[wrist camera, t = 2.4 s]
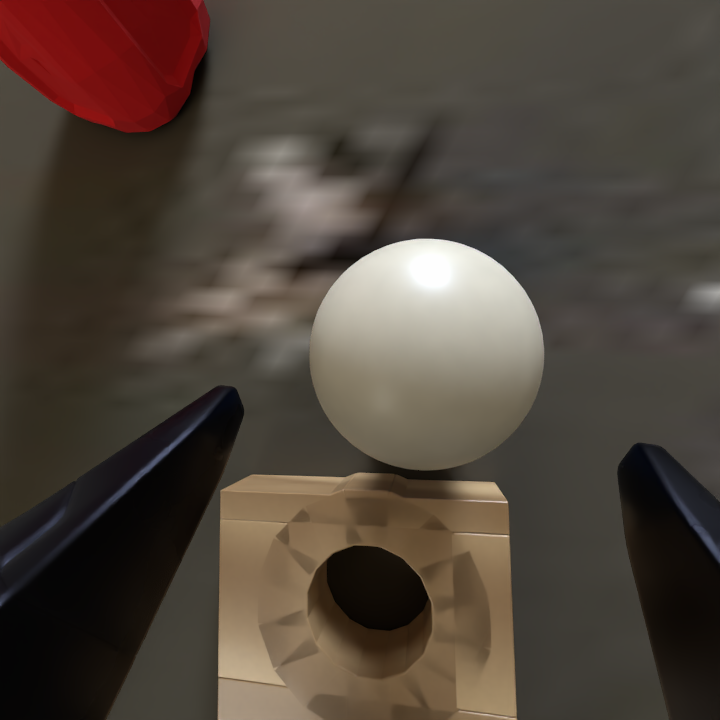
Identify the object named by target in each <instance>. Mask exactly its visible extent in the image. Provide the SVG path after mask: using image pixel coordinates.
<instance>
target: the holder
mask: <svg viewBox="0 0 720 720" xmlns="http://www.w3.org/2000/svg"><path fill="white" fill-rule="evenodd" d="M509 534H510V531H509V507H508V501H507V500H506V498H505V497H504V495H503V494H502V492H501V491H500V490H499V488H498V487H497V485H496V484H495V482H475V481H444V480H412V479H406V478H404V477H401V476H399V475H395V474H385V473H355V474H352V475H350V476H347V477H317V476H285V475H254V474H252V475H250V476H248V477H246V478H244V479H242V480H240V481H238V482H236V483H234V484H232V485H230V486H228V487H226V488H224V489H222V490H221V492H220V566H219V642H218V720H517V717H516V715H517V708H516V683H515V658H514V634H513V609H512V585H511V560H510V537H509ZM354 545H360V546H376V547H381V548H383V549H385V550H387V551H389V552H391V553H393V554H395V555H397V556H399V557H401V558H403V559H404V560H405V561H406V562H407V564H408V565H409V566H410V567H411V568H412V569H413V570H414V571H415V572H416V573H417V574H418V575H419V576H420V578H421V580H422V582H423V585H424V587H425V589H426V592H427V594H428V597H429V598H428V600H427V603H426V605H425V608H424V610H423V611H422V612H421V613H420V614H419V615H418V616H417V617H416V618H415V619H414V620H413V621H412V622H411V623H410V624H409V625H406V626H403V627H400V628H397V629H394V630H391V631H386V630H376V629H367V628H365V627H364V626H362V625H360V624H358V623H356V622H354V621H353V620H351V619H349V618H348V616H347V615H346V614H345V613H344V612H343V611H342V609H341V608H340V607H339V606H338V605H337V604H336V603H335V601H334V599H333V596H332V593H331V591H330V588H329V586H328V583H327V559H328V558H329V557H330V556H331V555H332V554H333V553H335V552H338V551H341V550H343V549H346V548H349V547H351V546H354Z"/></svg>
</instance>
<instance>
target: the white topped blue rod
mask: <svg viewBox="0 0 720 720" xmlns="http://www.w3.org/2000/svg"><path fill="white" fill-rule="evenodd" d="M309 360H310V372H311V377H312V382H313V386H314V389H315V392H316V395H317V398H318V400H319V402H320V404H321V406H322V409H323V411H324V412H325V414H326V415H327V417H328V418H329V420H330V422H331V423H332V424H333V425H334V427H335V428H336V429H337V430H338V431H339V433H340V434H341V435H342V436H343V437H344V438H345V439H347V440H348V441H349V442H350V443H351V444H352V445H353V446H355V447H356V448H358V449H359V450H361V451H362V452H363V453H365V454H367V455H369V456H371V457H373V458H374V459H376V460H378V461H381V462H384V463H387V464H389V465H392V466H396V467H401V468H405V469H412V470H441V469H447V468H453V467H457V466H460V465H463V464H466V463H469V462H472V461H474V460H476V459H478V458H480V457H482V456H484V455H486V454H487V453H489V452H491V451H492V450H494V449H495V448H497V447H498V446H499V445H500V444H502V443H503V442H504V441H505V440H506V439H507V438H509V437H510V436H511V435H512V433H513V432H514V431H515V430H516V429H517V428H518V427H519V425H520V424H521V423H522V421H523V420H524V418H525V417H526V415H527V414H528V412H529V411H530V409H531V407H532V404H533V402H534V400H535V398H536V396H537V393H538V390H539V386H540V383H541V379H542V373H543V367H544V343H543V335H542V330H541V327H540V323H539V319H538V316H537V314H536V311H535V309H534V307H533V304H532V302H531V301H530V299H529V297H528V296H527V294H526V292H525V291H524V289H523V288H522V287H521V285H520V284H519V283H518V282H517V280H516V279H515V278H514V277H513V276H512V275H511V274H510V273H509V272H508V271H507V270H506V269H505V268H504V267H503V266H502V265H500V264H499V263H498V262H496V261H495V260H493V259H492V258H491V257H489V256H487V255H486V254H484V253H482V252H480V251H478V250H476V249H474V248H471V247H468V246H466V245H463V244H460V243H456V242H451V241H447V240H438V239H415V240H408V241H402V242H398V243H394V244H391V245H387V246H385V247H383V248H380V249H378V250H375V251H373V252H372V253H370V254H368V255H366V256H365V257H363V258H361V259H360V260H359V261H357V262H356V263H355V264H353V265H352V266H351V267H349V268H348V269H347V270H346V271H345V272H344V273H343V274H342V275H341V276H340V277H339V278H338V280H337V281H336V282H335V283H334V284H333V286H332V287H331V288H330V290H329V291H328V293H327V295H326V296H325V298H324V299H323V301H322V304H321V306H320V308H319V310H318V312H317V315H316V318H315V321H314V324H313V328H312V333H311V339H310V351H309Z"/></svg>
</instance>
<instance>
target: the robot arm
mask: <svg viewBox="0 0 720 720" xmlns="http://www.w3.org/2000/svg"><path fill="white" fill-rule="evenodd" d="M243 416H244V408H243V405H242V402H241V399H240V397H239V394H238V392H237V389H236V388H235V387H232V386H225V385H219V386H217V387H215V388H213V389H212V390H210V391H209V392H207V393H206V394H204V395H203V396H201V397H200V398H198V399H197V400H195V401H194V402H192V403H191V404H189V405H188V406H186V407H185V408H183V409H182V410H180V411H179V412H177V413H176V414H174V415H173V416H171V417H170V418H168V419H167V420H165V421H164V422H162V423H161V424H159V425H158V426H156V427H155V428H153V429H152V430H150V431H149V432H147V433H146V434H144V435H143V436H141V437H140V438H138V439H137V440H135V441H134V442H132V443H131V444H129V445H128V446H126V447H125V448H123V449H122V450H120V451H118V452H117V453H115V454H114V455H112V456H111V457H109V458H108V459H106V460H105V461H103V462H102V463H100V464H99V465H97V466H96V467H94V468H93V469H91V470H90V471H88V472H87V473H85V474H84V475H82V476H81V477H79V478H78V479H77V481H73V482H72V483H70V484H69V485H67V486H66V487H64V488H63V489H61V490H60V491H58V492H57V493H55V494H53V495H52V496H50V497H49V498H47V499H46V500H44V501H43V502H41V503H39V504H38V505H36V506H35V507H33V508H32V509H30V510H28V511H27V512H25V513H23V514H22V515H20V516H18V517H17V518H15V519H13V520H12V521H10V522H9V523H7V524H5V525H4V526H2V527H0V720H106V719H107V717H108V715H109V713H110V711H111V709H112V706H113V704H114V702H115V700H116V698H117V696H118V694H119V692H120V690H121V688H122V685H123V683H124V681H125V679H126V677H127V675H128V673H129V671H130V669H131V667H132V664H133V662H134V660H135V658H136V656H135V655H137V653H138V651H139V649H140V647H141V645H142V643H143V641H144V639H145V637H146V634H147V632H148V630H149V628H150V626H151V624H152V622H153V620H154V618H155V616H156V613H157V611H158V609H159V607H160V605H161V603H162V601H163V599H164V597H165V595H166V592H167V590H168V588H169V586H170V584H171V582H172V580H173V578H174V576H175V573H176V571H177V569H178V567H179V565H180V563H181V561H182V559H183V557H184V555H185V552H186V550H187V548H188V546H189V544H190V542H191V540H192V538H193V536H194V534H195V531H196V529H197V527H198V525H199V523H200V521H201V519H202V517H203V515H204V513H205V510H206V508H207V506H208V504H209V502H210V500H211V498H212V496H213V494H214V492H215V489H216V487H217V485H218V483H219V481H220V479H221V477H222V474H223V472H224V470H225V467H226V465H227V462H228V459H229V456H230V453H231V451H232V448H233V445H234V442H235V439H236V436H237V433H238V431H239V428H240V425H241V422H242V419H243ZM617 475H618V484H619V492H620V500H621V508H622V516H623V524H624V532H625V539H626V545H627V550H628V554H629V559H630V563H631V567H632V571H633V575H634V579H635V583H636V587H637V591H638V595H639V599H640V603H641V607H642V611H643V615H644V619H645V623H646V627H647V631H648V635H649V639H650V643H651V647H652V651H653V655H654V659H655V663H656V667H657V671H658V675H659V679H660V683H661V687H662V691H663V695H664V699H665V704H666V708H667V712H668V716H669V720H720V502H719V501H718V500H717V499H716V498H715V497H714V496H713V495H712V494H711V493H710V492H709V491H708V490H707V489H706V488H705V487H704V486H703V485H702V484H700V483H699V482H698V481H697V480H696V479H695V478H694V477H693V476H692V475H691V474H690V473H689V472H688V471H687V470H686V469H685V468H684V467H683V466H682V465H681V464H680V463H678V462H677V461H676V460H675V459H674V458H673V457H672V456H671V455H670V454H669V453H668V452H667V451H666V450H665V449H664V448H662V447H661V446H658V445H653V444H646V443H637V444H634V445H633V446H632V448H631V449H630V450H629V452H628V453H627V454H626V456H625V457H624V458H623V460H622V461H621V462H620V464H619V466H618V471H617Z"/></svg>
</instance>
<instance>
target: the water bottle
mask: <svg viewBox="0 0 720 720" xmlns="http://www.w3.org/2000/svg"><path fill="white" fill-rule="evenodd" d="M209 26H210V18H209V15H208V12H207V9H206V7H205V4H204V1H203V0H0V60H1V61H2V62H3V63H4V64H5V65H6V66H7V67H8V68H10V69H11V70H12V71H14V72H15V73H16V74H17V75H19V76H20V77H21V78H22V79H24V80H25V81H26V82H27V83H29V84H30V85H31V86H33V87H34V88H35V89H36V90H38V91H39V92H40V93H41V94H43V95H44V96H45V97H47V98H48V99H49V100H50V101H52V102H54V103H55V104H57V105H59V106H61V107H62V108H64V109H66V110H67V111H69V112H71V113H72V114H74V115H76V116H78V117H81V118H83V119H85V120H88V121H90V122H93V123H98V124H102V125H105V126H108V127H111V128H114V129H117V130H120V131H123V132H126V133H130V132H150V131H152V130H154V129H156V128H158V127H160V126H162V125H163V124H165V123H167V122H169V121H171V120H172V119H173V118H175V117H176V116H177V114H178V112H179V111H180V109H181V107H182V106H183V104H184V103H185V101H186V99H187V98H188V96H189V95H190V91H191V86H192V81H193V76H194V71H195V69H196V68H197V66H198V64H199V63H200V61H201V59H202V57H203V56H204V54H205V52H206V51H207V44H208V35H209Z"/></svg>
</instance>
